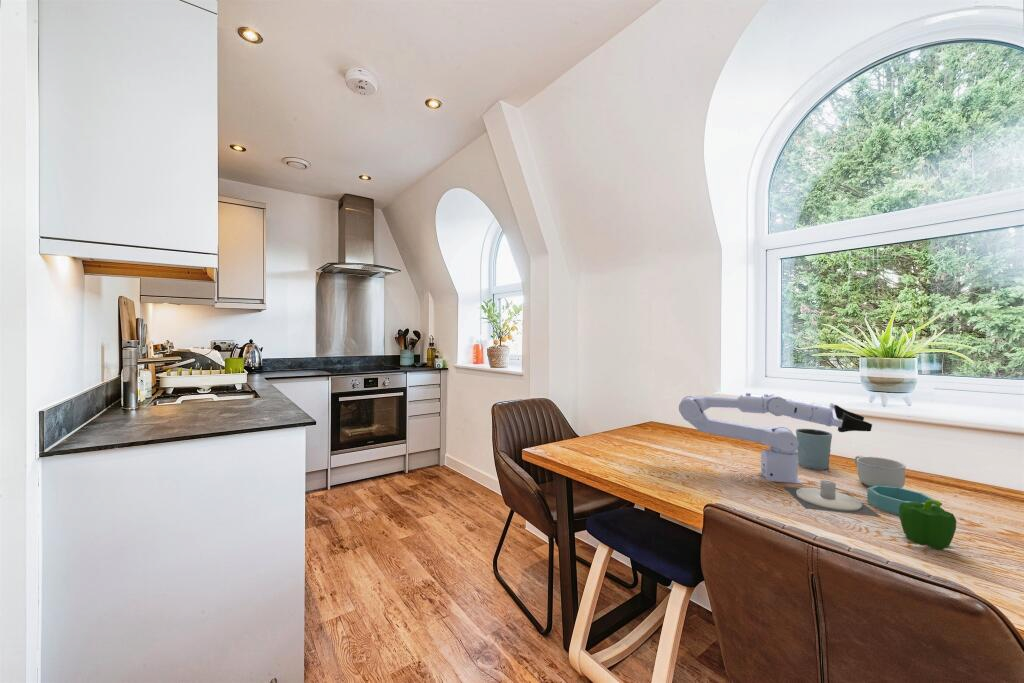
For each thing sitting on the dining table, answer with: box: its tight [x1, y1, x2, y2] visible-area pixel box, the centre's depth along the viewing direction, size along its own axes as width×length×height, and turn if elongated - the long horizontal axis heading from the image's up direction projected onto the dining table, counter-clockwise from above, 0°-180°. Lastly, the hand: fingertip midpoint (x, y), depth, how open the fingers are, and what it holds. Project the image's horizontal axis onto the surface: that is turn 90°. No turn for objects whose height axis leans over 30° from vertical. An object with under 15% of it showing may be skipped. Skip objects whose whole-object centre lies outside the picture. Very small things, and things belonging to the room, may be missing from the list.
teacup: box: [854, 455, 907, 488], centre depth 122 cm, size 14×11×8 cm
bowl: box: [866, 485, 937, 516], centre depth 105 cm, size 12×12×4 cm
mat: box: [783, 486, 882, 518], centre depth 110 cm, size 16×16×1 cm
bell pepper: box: [898, 499, 957, 550], centre depth 87 cm, size 8×8×10 cm
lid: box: [796, 480, 863, 511], centre depth 110 cm, size 14×14×5 cm
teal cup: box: [795, 428, 833, 471], centre depth 141 cm, size 10×10×12 cm
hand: (867, 423), depth 118 cm, fingers open, 7 cm apart
